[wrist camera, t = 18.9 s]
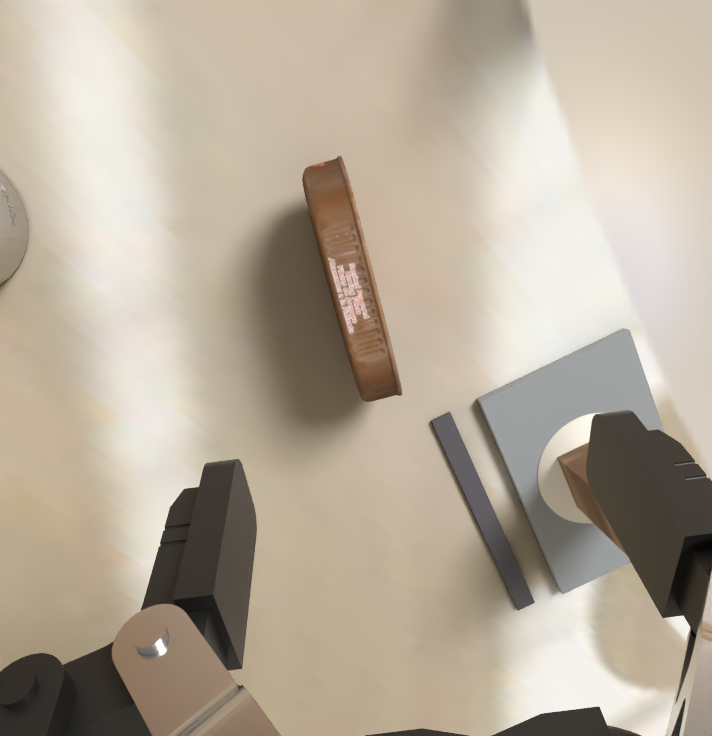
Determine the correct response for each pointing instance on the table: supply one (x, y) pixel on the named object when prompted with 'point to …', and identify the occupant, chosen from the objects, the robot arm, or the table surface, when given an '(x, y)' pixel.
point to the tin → (351, 279)
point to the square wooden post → (584, 489)
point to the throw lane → (553, 456)
